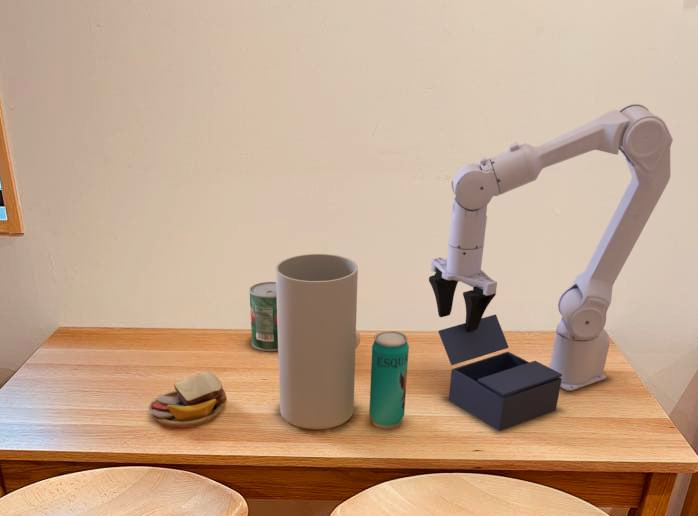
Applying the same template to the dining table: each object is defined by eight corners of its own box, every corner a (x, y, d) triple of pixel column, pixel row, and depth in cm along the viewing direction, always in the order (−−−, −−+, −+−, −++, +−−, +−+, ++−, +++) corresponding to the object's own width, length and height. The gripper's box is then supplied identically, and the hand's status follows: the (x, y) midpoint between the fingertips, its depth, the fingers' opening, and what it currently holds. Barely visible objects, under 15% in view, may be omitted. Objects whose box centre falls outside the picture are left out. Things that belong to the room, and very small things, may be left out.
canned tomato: (250, 336, 170) (247, 282, 163) (289, 333, 171) (288, 280, 164) (253, 352, 164) (250, 297, 157) (293, 350, 164) (292, 295, 158)
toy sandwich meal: (142, 401, 148) (139, 377, 145) (217, 389, 152) (215, 364, 149) (157, 435, 139) (153, 409, 136) (236, 421, 142) (234, 395, 139)
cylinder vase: (269, 424, 141) (263, 276, 126) (294, 391, 150) (292, 250, 135) (340, 436, 137) (343, 286, 122) (362, 402, 147) (367, 258, 132)
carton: (448, 400, 147) (451, 364, 143) (503, 381, 152) (508, 347, 148) (498, 431, 138) (504, 394, 134) (555, 410, 143) (562, 374, 139)
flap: (452, 364, 143) (451, 365, 143) (508, 347, 148) (507, 348, 148) (439, 330, 143) (437, 331, 143) (495, 314, 148) (494, 315, 148)
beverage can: (401, 432, 138) (407, 346, 129) (366, 429, 139) (370, 343, 130) (405, 415, 143) (411, 331, 134) (371, 412, 144) (374, 329, 135)
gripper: (419, 236, 143) (413, 314, 151) (477, 260, 133) (467, 342, 141) (451, 229, 146) (444, 305, 154) (510, 252, 136) (499, 332, 144)
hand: (457, 322), depth 148 cm, fingers open, 7 cm apart
